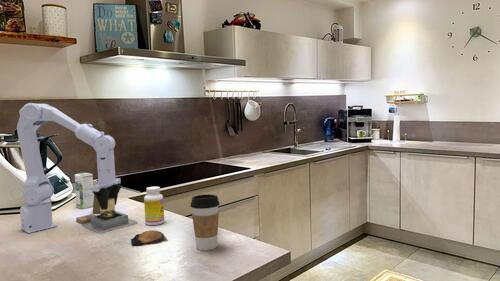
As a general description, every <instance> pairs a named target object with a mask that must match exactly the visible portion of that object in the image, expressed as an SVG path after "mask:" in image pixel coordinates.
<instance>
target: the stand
mask: <svg viewBox="0 0 500 281" xmlns="http://www.w3.org/2000/svg"><path fill="white" fill-rule="evenodd" d="M96 215H97V214H93V213H91V214H87V215H83V216H78V217H75V218H76V219H75V220H76V223H79V224H81V225H82V224H84V223H88V222H91V218H90V217H92V216H96Z"/></svg>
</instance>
